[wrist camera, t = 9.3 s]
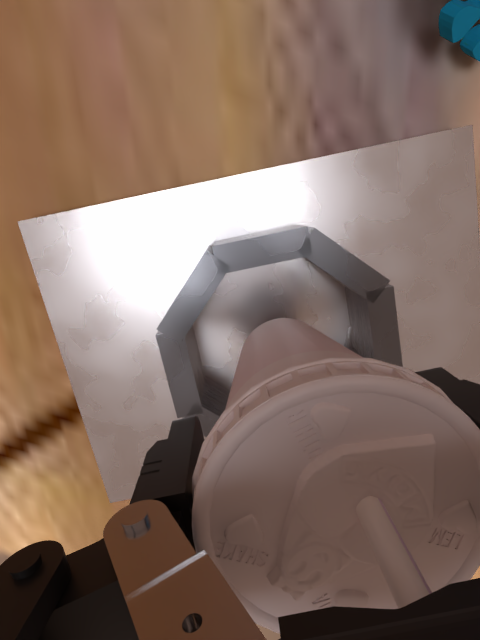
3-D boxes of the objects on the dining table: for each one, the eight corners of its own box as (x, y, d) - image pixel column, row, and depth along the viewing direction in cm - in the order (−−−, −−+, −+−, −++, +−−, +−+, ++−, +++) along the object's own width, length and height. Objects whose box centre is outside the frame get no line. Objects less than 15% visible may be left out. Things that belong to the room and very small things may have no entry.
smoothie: (388, 348, 18) (922, 782, 4) (290, 454, 19) (462, 1076, 5) (273, 253, 17) (495, 423, 3) (176, 372, 18) (16, 892, 4)
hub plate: (31, 220, 21) (-26, 223, 17) (455, 130, 21) (523, 105, 16) (116, 486, 25) (91, 550, 21) (474, 414, 25) (534, 462, 20)
